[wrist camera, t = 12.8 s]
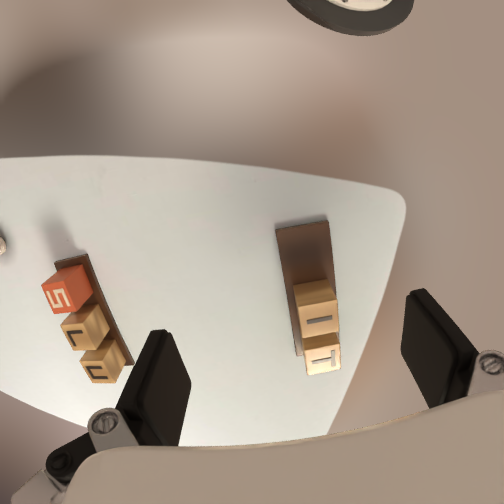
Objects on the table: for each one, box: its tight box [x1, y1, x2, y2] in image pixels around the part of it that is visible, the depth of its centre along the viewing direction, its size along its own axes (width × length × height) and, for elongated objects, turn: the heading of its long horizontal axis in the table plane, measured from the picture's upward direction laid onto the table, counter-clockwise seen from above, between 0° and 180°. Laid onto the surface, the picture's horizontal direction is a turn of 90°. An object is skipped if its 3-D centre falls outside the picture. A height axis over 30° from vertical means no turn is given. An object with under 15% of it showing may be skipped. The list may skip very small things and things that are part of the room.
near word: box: [275, 220, 341, 375], centre depth 34 cm, size 18×6×6 cm, turn 11°
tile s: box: [41, 264, 94, 314], centre depth 34 cm, size 4×4×5 cm
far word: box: [54, 254, 135, 383], centre depth 36 cm, size 18×6×6 cm, turn 11°
